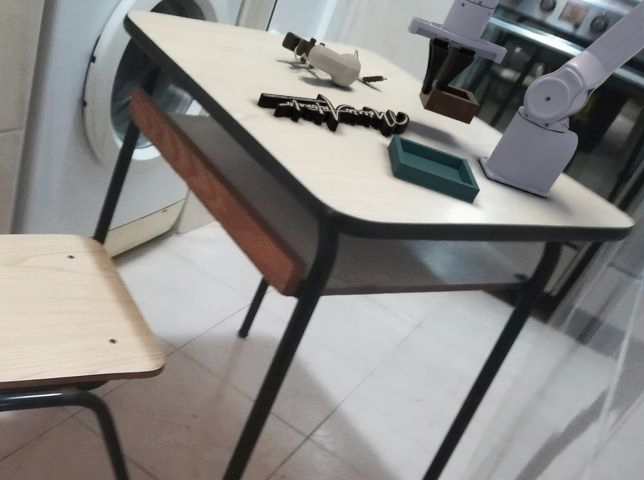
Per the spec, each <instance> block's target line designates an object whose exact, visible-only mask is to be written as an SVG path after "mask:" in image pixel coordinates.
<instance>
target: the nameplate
mask: <svg viewBox="0 0 644 480" xmlns="http://www.w3.org/2000/svg"><path fill="white" fill-rule="evenodd" d="M257 106H259V107H261V108H263V109H265V108H266V109H274V112H273V117H276V118H281V117H286V118H289V119H290V120H292V121H293V122H295V123H299V121H300V119H303V120H305V121H308V122H313V123H314V124H315V125H319V126H321V125H322V123H326V125H327V127H328V129H329V130H330V131H331V132H334V133H335V132H336V131H337V129H338V127H339V124H340V123H344V124H349V125H351V126H356V125H358V126H363V127H365V128H368V129H369V128H370V127H371V128H373V129H375V130H379V131H380V133H381V135H383V136H384V137H385V138H390V137H391V136H392V135H397V136H399V135H402V134H403V133H404V132H405V131H406V129H407V127H408V125H409V123H410V116H409V114H407V113H406V112H403V111H398V112H397V114H395V112H394V111H393V110H391V109H386V112H384V111H380V112H378V110H376V109H375V108H372V107H370V106H363V107H362V109H356V108H355V107H354V106H352V105H348V104H339V105H337V106H336V108H335V107H334V105H333V104H332V102H331V101H330V100H329V99H328V97H326V96H324V95H323V94H321V93H317V96H316V98H311V97H301V96H294V95H293V96H292V95H284V94H276V93H275V94H274V93H266V92H261V93H260V95H259V98H258V101H257Z"/></svg>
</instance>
